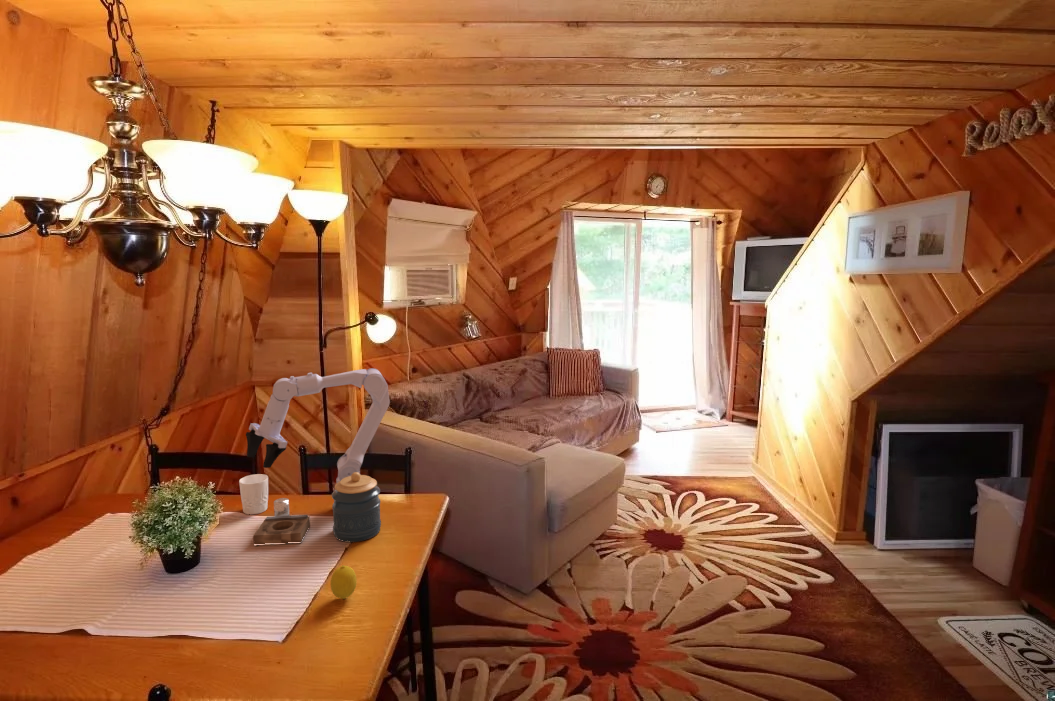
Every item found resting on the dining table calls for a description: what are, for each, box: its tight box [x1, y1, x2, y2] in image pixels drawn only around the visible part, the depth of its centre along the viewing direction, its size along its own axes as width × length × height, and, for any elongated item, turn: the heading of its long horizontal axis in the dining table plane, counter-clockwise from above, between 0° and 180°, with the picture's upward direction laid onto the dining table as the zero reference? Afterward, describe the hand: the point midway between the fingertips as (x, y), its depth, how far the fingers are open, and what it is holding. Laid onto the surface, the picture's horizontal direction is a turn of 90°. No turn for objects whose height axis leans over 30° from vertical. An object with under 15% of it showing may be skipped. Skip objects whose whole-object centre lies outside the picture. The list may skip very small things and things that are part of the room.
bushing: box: [273, 497, 291, 516], centre depth 158 cm, size 4×4×6 cm
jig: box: [252, 514, 311, 545], centre depth 149 cm, size 12×10×4 cm
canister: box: [331, 472, 382, 543], centre depth 151 cm, size 13×13×18 cm
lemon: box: [330, 564, 357, 600], centre depth 121 cm, size 6×6×8 cm
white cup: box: [238, 473, 269, 515], centre depth 164 cm, size 8×8×10 cm
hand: (258, 461), depth 157 cm, fingers open, 7 cm apart
